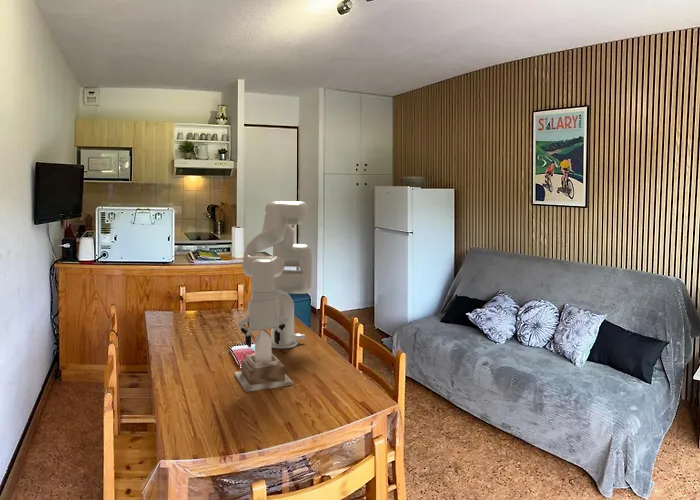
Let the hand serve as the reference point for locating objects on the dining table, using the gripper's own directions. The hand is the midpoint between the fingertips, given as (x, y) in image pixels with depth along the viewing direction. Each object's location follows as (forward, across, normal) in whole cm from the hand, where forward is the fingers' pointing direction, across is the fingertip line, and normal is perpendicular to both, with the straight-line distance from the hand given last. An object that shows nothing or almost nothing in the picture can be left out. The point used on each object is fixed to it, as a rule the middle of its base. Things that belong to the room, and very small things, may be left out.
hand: (262, 344), depth 181 cm
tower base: (+12, 0, 0) cm, 12 cm away
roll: (+6, 0, 0) cm, 7 cm away
